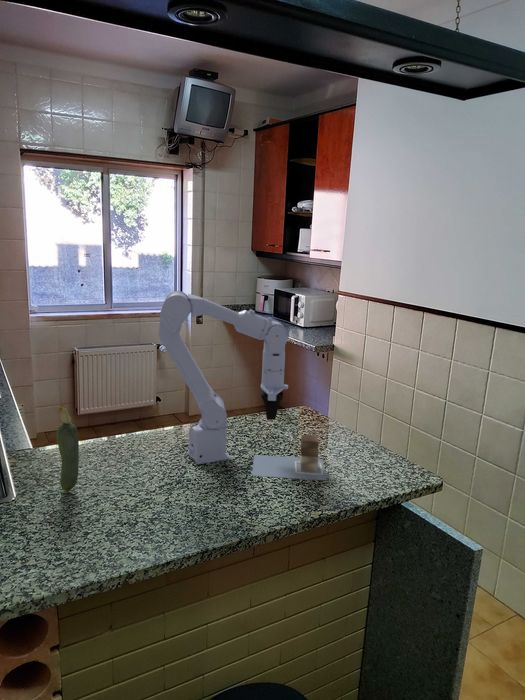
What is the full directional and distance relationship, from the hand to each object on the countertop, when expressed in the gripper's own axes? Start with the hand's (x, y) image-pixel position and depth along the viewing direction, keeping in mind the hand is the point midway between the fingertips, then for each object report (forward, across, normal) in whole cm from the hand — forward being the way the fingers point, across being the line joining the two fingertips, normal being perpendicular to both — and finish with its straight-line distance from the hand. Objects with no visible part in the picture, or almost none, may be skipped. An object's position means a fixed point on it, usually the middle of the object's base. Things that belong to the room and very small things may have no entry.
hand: (271, 418), depth 132 cm
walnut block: (+6, -7, -10) cm, 14 cm away
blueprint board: (+10, -7, -5) cm, 14 cm away
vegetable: (+10, -26, +43) cm, 51 cm away
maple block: (+10, -7, -10) cm, 16 cm away
